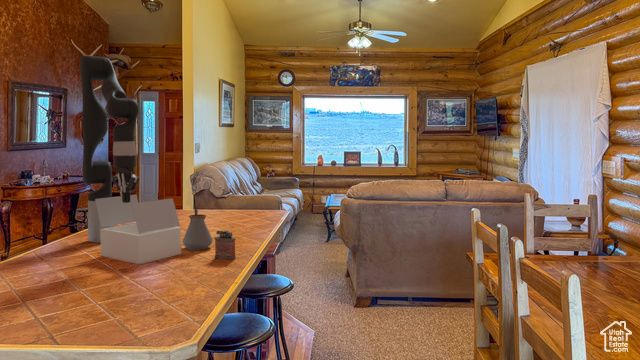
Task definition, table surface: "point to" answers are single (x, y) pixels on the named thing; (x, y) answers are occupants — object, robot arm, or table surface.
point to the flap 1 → (115, 210)
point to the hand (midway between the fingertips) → (126, 202)
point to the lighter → (225, 245)
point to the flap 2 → (155, 215)
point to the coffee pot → (197, 233)
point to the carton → (139, 243)
